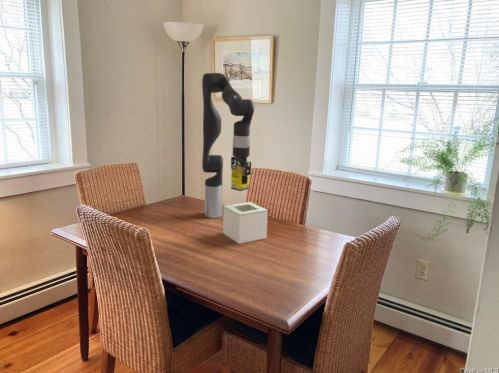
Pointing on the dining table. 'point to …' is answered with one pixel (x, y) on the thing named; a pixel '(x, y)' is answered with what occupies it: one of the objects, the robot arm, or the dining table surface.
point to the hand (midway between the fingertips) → (240, 181)
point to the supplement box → (238, 179)
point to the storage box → (245, 222)
